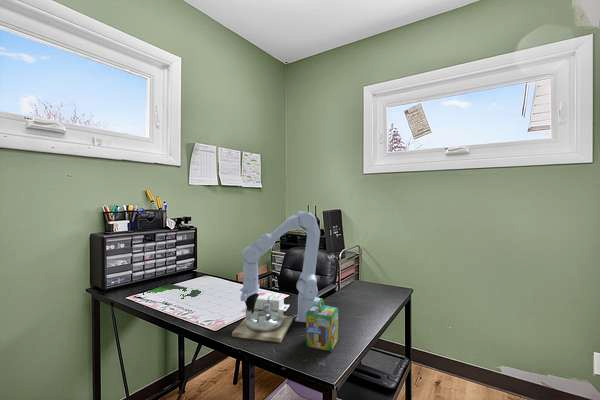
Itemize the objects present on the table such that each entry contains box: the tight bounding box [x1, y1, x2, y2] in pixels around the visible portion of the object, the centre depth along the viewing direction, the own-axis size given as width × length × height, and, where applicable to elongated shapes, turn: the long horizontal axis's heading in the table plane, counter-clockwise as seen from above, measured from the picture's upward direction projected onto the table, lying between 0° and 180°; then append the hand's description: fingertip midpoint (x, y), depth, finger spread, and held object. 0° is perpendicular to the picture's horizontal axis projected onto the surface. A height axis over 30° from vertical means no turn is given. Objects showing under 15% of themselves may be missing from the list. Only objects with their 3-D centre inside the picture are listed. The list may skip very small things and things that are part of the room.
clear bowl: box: [245, 304, 284, 332], centre depth 108 cm, size 14×14×5 cm
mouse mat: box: [142, 283, 201, 305], centre depth 143 cm, size 27×22×1 cm
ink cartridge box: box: [254, 292, 290, 312], centre depth 128 cm, size 9×5×15 cm
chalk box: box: [305, 297, 339, 353], centre depth 97 cm, size 9×9×15 cm
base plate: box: [231, 315, 294, 343], centre depth 108 cm, size 18×18×2 cm
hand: (250, 313), depth 110 cm, fingers closed, pressing on clear bowl
